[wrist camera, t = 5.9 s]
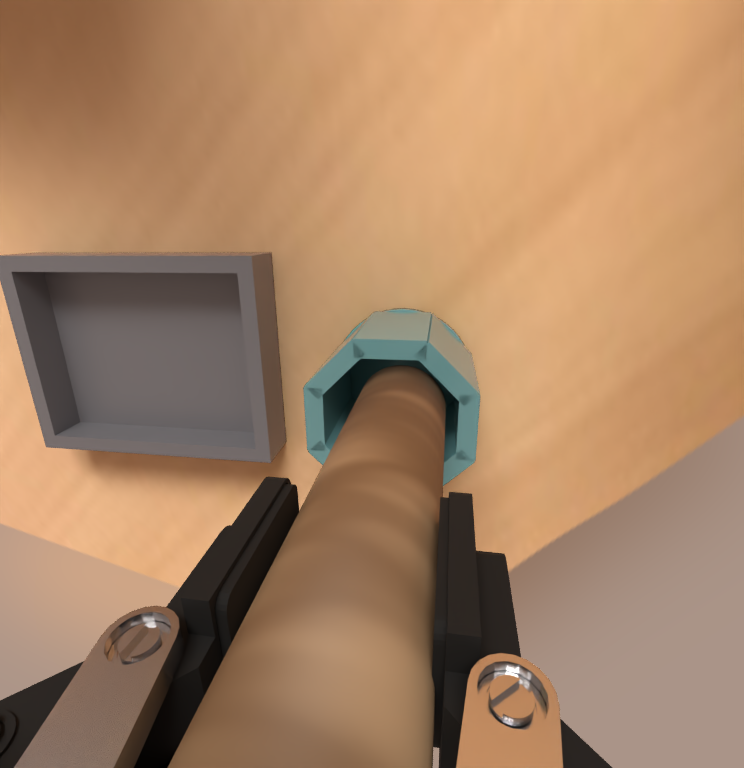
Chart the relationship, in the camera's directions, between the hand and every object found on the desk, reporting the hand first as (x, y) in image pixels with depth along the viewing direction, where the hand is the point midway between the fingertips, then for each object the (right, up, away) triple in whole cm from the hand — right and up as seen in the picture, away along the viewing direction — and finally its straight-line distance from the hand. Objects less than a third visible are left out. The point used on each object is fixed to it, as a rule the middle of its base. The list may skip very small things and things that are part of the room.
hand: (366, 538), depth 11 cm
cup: (+2, +4, +14) cm, 14 cm away
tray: (-12, +6, +15) cm, 20 cm away
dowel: (+1, +3, +8) cm, 8 cm away
